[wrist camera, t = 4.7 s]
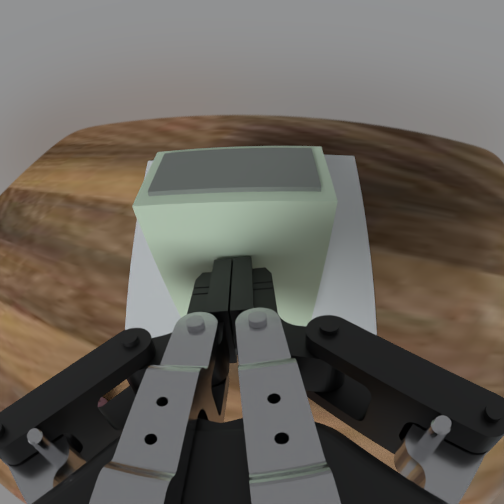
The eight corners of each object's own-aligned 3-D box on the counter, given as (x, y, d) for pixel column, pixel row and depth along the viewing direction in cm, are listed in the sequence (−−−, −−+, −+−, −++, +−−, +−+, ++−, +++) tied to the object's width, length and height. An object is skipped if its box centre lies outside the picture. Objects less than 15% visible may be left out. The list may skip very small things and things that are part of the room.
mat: (126, 346, 18) (124, 346, 18) (149, 163, 23) (148, 161, 22) (375, 347, 17) (377, 347, 17) (353, 158, 22) (354, 156, 22)
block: (185, 326, 17) (130, 202, 10) (193, 275, 19) (156, 148, 12) (309, 326, 17) (338, 196, 10) (304, 275, 19) (321, 142, 12)
